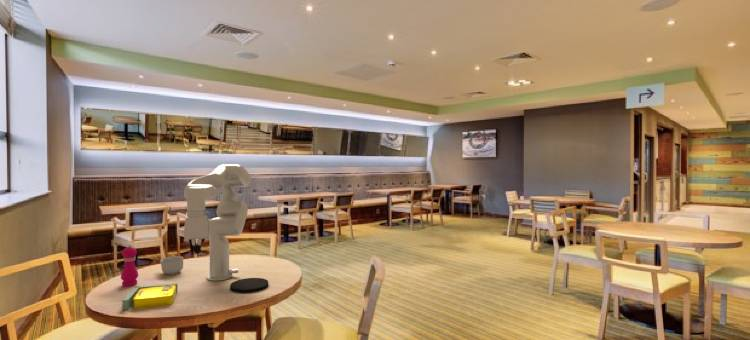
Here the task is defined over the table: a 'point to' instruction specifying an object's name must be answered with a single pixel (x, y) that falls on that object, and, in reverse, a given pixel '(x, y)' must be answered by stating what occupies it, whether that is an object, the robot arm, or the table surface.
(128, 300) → the corner stop
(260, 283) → the wireless charger
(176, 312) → the table surface
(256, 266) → the table surface
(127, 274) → the pepper mill
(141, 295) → the element tile
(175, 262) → the teacup
